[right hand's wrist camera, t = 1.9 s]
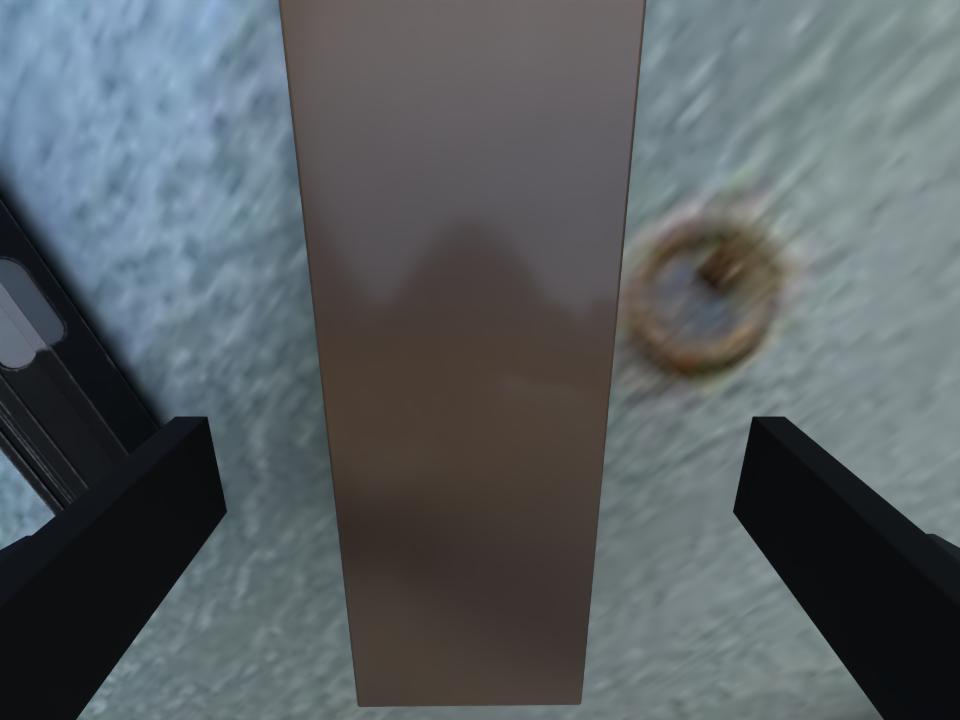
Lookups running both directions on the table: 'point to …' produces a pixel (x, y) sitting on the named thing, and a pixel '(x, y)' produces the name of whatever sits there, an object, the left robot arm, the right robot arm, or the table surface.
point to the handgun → (57, 383)
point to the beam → (465, 324)
